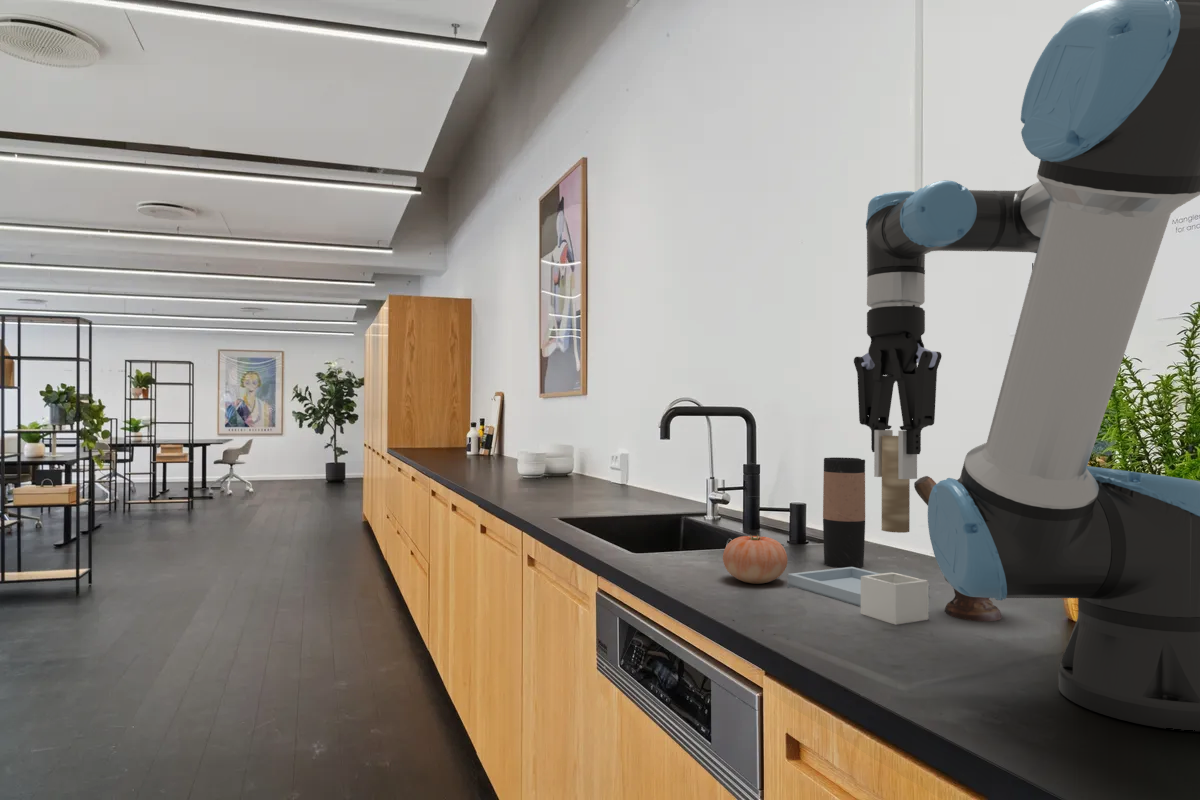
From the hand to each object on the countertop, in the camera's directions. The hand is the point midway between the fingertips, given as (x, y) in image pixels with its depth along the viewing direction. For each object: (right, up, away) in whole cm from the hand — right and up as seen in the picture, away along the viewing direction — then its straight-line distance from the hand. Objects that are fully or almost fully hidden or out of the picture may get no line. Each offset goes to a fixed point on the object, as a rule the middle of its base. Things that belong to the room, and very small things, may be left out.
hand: (895, 477), depth 110 cm
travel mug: (+5, -21, +41) cm, 46 cm away
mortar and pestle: (+10, -20, +2) cm, 23 cm away
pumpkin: (-14, -20, +26) cm, 36 cm away
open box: (0, -20, 0) cm, 20 cm away
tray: (0, -20, +16) cm, 26 cm away
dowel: (0, -7, 0) cm, 7 cm away
